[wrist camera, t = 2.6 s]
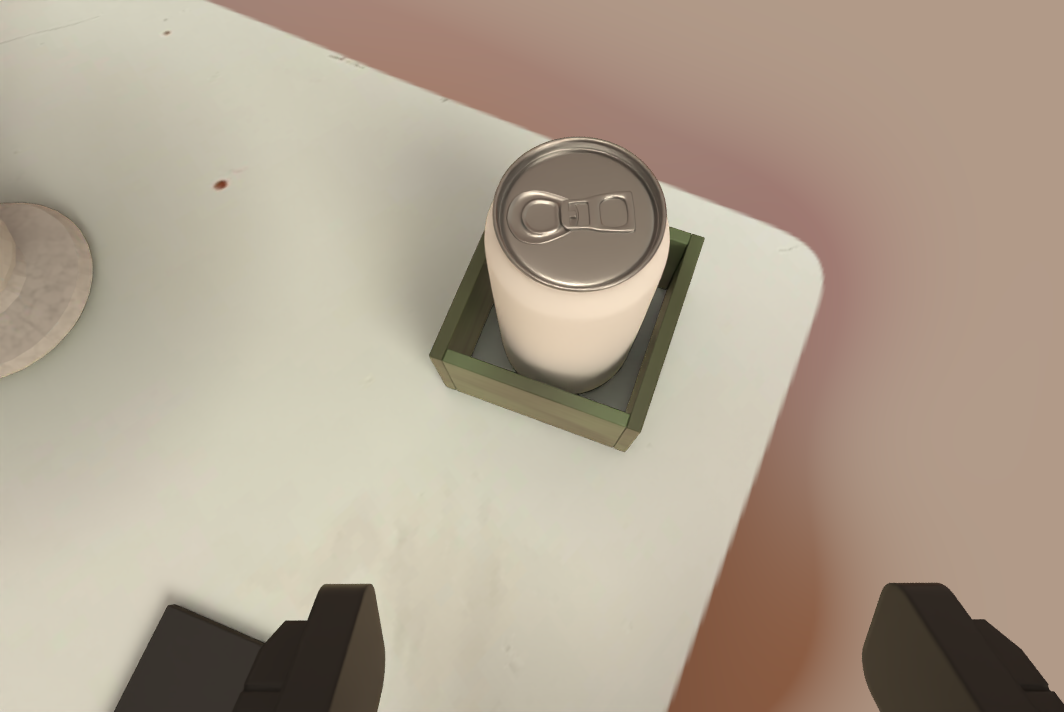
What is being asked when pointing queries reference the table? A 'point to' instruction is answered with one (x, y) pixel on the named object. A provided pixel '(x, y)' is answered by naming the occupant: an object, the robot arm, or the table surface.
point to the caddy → (545, 399)
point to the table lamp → (39, 282)
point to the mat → (190, 666)
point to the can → (574, 259)
